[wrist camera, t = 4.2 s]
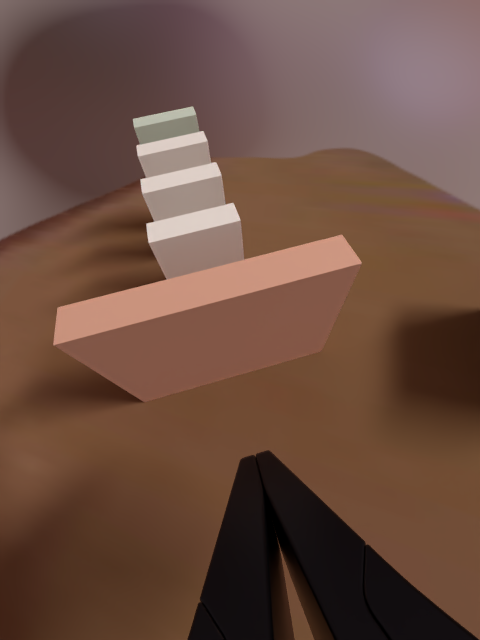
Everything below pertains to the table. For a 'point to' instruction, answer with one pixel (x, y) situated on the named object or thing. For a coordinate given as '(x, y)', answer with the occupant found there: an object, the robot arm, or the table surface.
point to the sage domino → (166, 125)
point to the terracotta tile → (212, 320)
